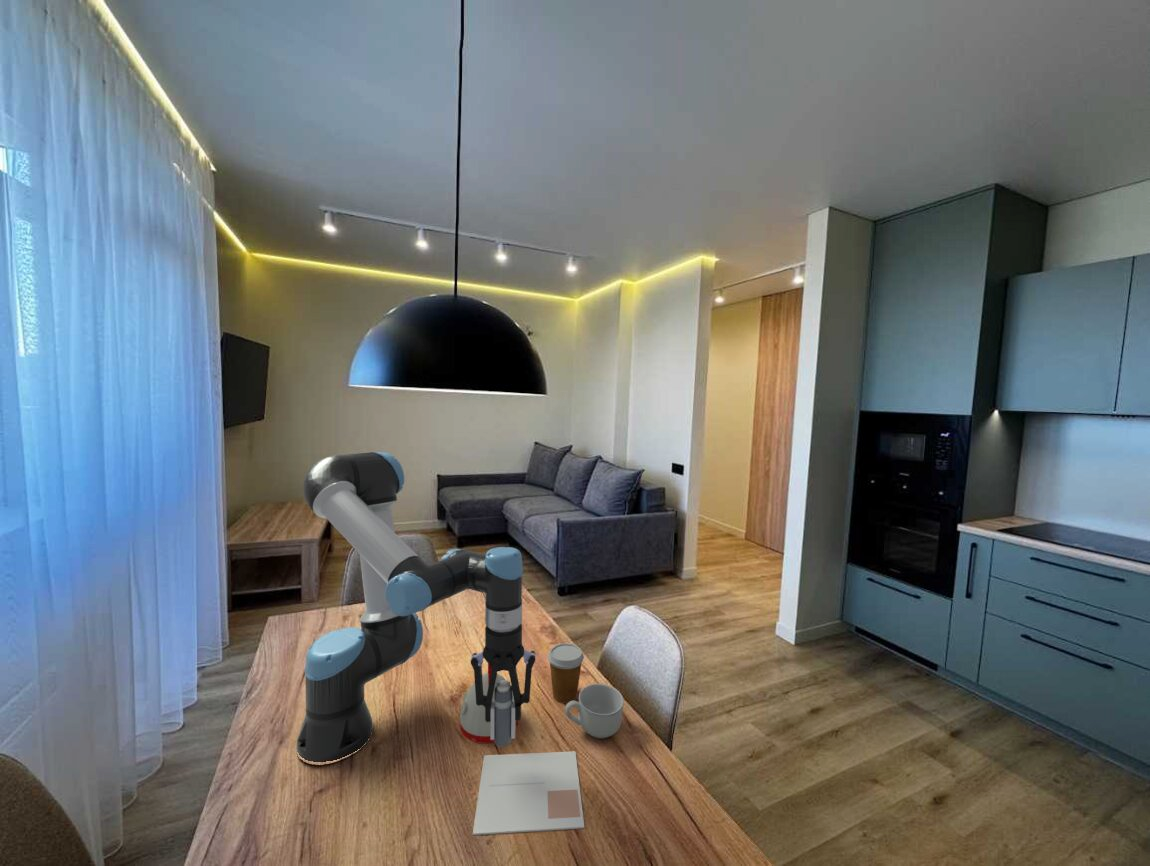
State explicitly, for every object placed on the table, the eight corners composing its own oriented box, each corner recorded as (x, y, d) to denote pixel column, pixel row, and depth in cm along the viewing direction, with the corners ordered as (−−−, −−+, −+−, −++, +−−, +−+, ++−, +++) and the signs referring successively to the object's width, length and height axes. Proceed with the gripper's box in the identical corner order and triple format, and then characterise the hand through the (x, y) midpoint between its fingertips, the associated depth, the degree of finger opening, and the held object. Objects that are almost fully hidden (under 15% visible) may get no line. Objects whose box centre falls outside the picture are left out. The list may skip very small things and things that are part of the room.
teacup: (619, 714, 112) (620, 683, 111) (625, 746, 101) (626, 712, 101) (564, 714, 111) (564, 683, 111) (564, 746, 100) (565, 712, 100)
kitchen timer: (458, 747, 100) (459, 682, 99) (461, 706, 113) (461, 649, 112) (520, 738, 103) (521, 675, 102) (515, 700, 116) (516, 644, 115)
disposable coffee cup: (579, 709, 113) (580, 664, 112) (542, 704, 115) (543, 659, 114) (585, 687, 122) (586, 644, 122) (552, 682, 124) (552, 640, 124)
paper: (472, 835, 79) (472, 833, 79) (484, 756, 97) (484, 755, 97) (584, 828, 81) (584, 826, 81) (575, 752, 99) (575, 751, 99)
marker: (493, 747, 91) (493, 689, 90) (495, 734, 94) (495, 679, 94) (511, 746, 91) (511, 689, 91) (512, 733, 95) (512, 678, 94)
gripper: (459, 634, 87) (459, 750, 88) (544, 631, 89) (543, 745, 90) (465, 617, 95) (465, 724, 96) (543, 615, 96) (542, 720, 97)
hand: (503, 734), depth 93 cm, fingers closed on marker, 3 cm apart
